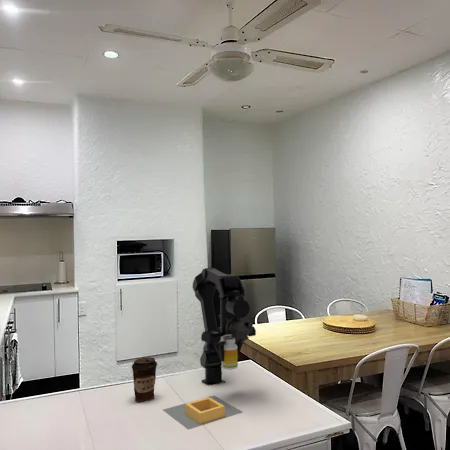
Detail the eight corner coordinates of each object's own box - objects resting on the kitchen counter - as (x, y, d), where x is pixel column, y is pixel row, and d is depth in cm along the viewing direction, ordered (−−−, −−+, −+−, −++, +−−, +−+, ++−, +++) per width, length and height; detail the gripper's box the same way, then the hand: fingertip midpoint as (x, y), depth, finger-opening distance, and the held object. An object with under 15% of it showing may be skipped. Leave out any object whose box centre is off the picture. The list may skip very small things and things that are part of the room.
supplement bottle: (240, 368, 137) (240, 338, 137) (225, 371, 134) (225, 340, 135) (233, 364, 142) (232, 335, 142) (218, 366, 139) (218, 337, 139)
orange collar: (185, 413, 124) (185, 403, 124) (209, 406, 129) (209, 397, 129) (200, 424, 117) (199, 413, 117) (224, 416, 122) (224, 406, 122)
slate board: (162, 411, 127) (162, 409, 127) (214, 397, 138) (214, 395, 138) (188, 431, 114) (188, 429, 114) (243, 414, 125) (243, 412, 125)
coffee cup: (160, 402, 134) (160, 362, 135) (134, 406, 131) (134, 365, 132) (154, 393, 142) (154, 355, 143) (130, 396, 139) (129, 357, 140)
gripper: (219, 320, 126) (219, 371, 126) (266, 312, 137) (266, 360, 137) (200, 314, 136) (200, 362, 135) (245, 308, 146) (246, 352, 146)
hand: (229, 359), depth 138 cm, fingers closed on supplement bottle, 5 cm apart
